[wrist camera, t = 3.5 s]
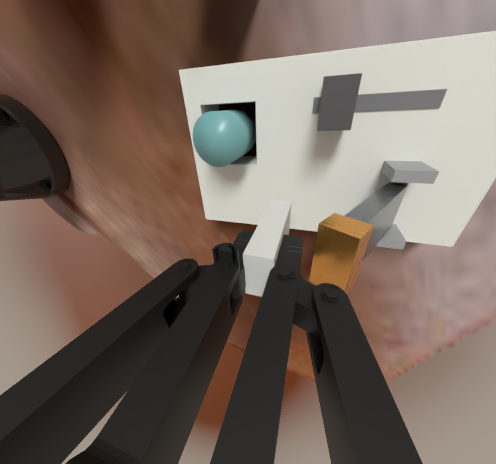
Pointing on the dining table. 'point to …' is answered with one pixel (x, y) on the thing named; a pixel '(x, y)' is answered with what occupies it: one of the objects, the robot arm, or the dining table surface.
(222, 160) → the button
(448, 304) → the dining table surface
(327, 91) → the slider
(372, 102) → the panel
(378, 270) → the dining table surface
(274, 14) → the dining table surface
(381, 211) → the lever
